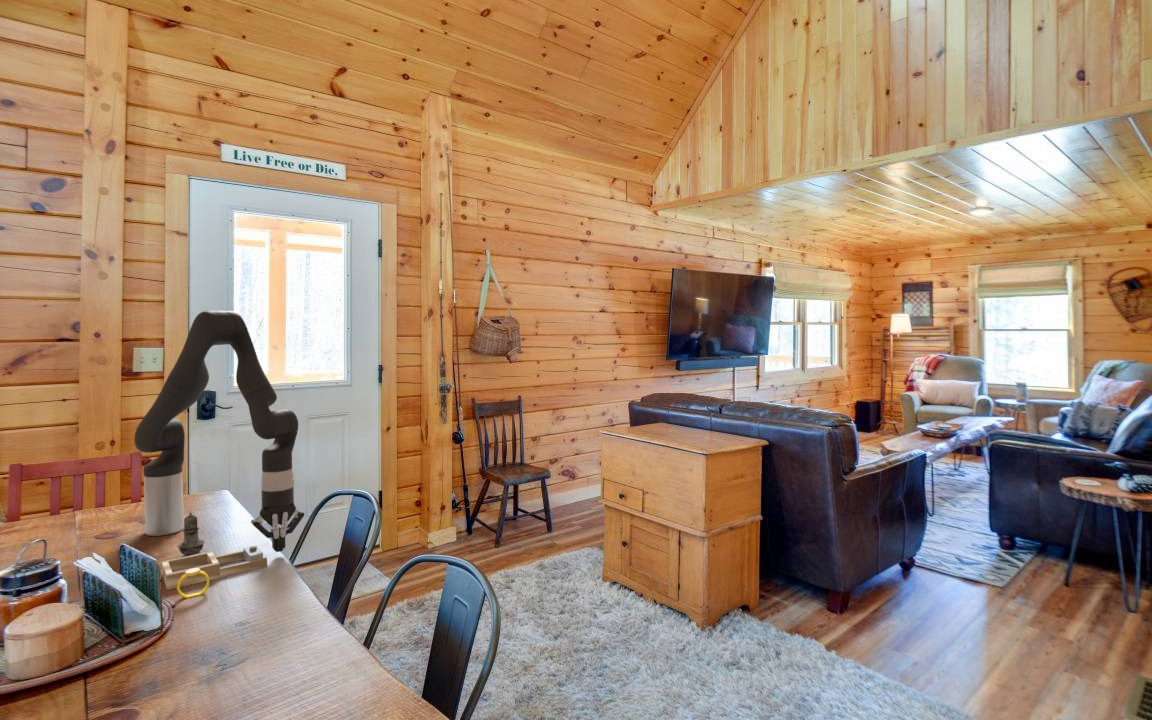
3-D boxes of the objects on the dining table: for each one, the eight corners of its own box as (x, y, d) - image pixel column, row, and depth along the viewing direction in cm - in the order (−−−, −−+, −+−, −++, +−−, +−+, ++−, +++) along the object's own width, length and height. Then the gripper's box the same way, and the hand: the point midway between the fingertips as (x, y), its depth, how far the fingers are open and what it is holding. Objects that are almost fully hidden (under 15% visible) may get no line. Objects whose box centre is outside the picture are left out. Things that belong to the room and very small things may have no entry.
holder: (161, 575, 139) (161, 561, 139) (257, 554, 153) (257, 541, 153) (167, 590, 131) (166, 575, 131) (267, 566, 145) (267, 552, 145)
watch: (179, 603, 126) (175, 577, 126) (178, 598, 128) (175, 572, 128) (211, 593, 130) (208, 568, 129) (209, 589, 132) (206, 564, 132)
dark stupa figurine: (191, 562, 147) (190, 516, 146) (172, 560, 148) (171, 515, 148) (210, 553, 153) (209, 509, 152) (191, 552, 154) (190, 508, 153)
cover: (243, 559, 149) (243, 544, 149) (256, 556, 151) (256, 542, 151) (250, 567, 144) (249, 552, 144) (263, 564, 146) (262, 549, 146)
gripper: (300, 479, 158) (301, 540, 159) (245, 487, 149) (247, 552, 150) (308, 484, 152) (309, 548, 153) (252, 493, 143) (254, 561, 144)
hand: (278, 550), depth 152 cm, fingers closed
